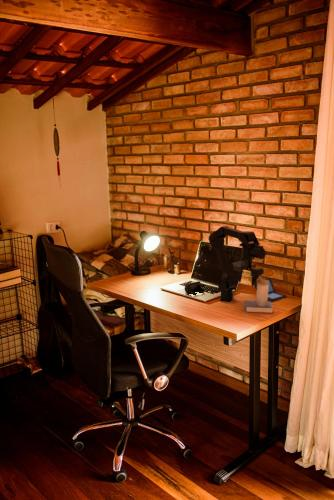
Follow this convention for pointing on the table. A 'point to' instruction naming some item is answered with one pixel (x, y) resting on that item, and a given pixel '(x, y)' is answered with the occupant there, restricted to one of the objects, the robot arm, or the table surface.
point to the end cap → (194, 288)
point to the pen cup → (262, 292)
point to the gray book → (257, 307)
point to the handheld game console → (272, 292)
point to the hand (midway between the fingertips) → (246, 284)
